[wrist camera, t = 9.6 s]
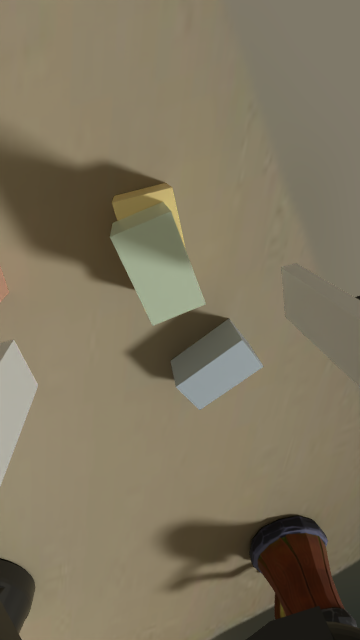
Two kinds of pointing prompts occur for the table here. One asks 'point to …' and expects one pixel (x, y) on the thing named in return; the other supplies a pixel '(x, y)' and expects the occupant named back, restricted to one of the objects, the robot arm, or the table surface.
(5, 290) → the terracotta brick
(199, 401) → the slate brick
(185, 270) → the sage brick
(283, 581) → the mug
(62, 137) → the table surface
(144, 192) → the ochre brick
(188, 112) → the table surface
